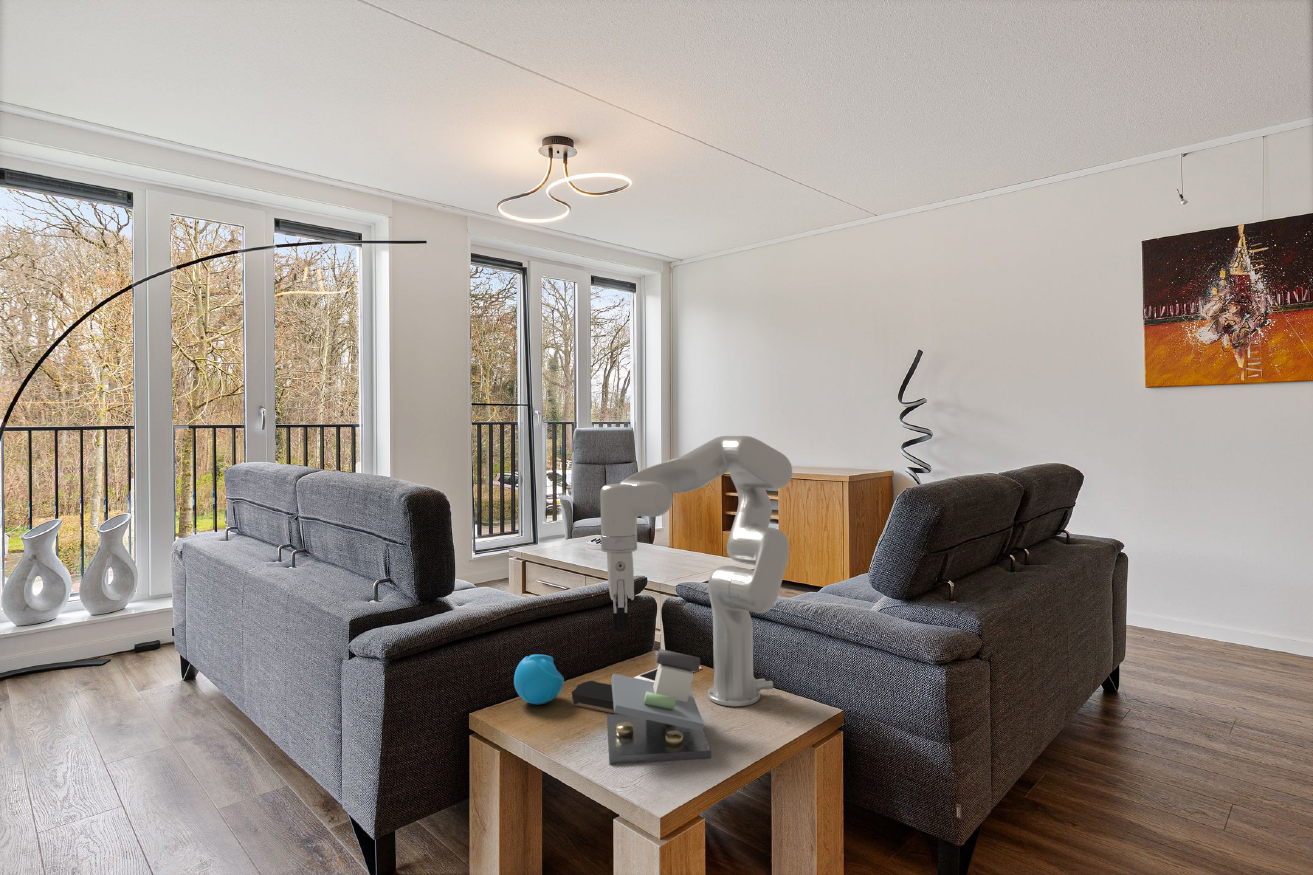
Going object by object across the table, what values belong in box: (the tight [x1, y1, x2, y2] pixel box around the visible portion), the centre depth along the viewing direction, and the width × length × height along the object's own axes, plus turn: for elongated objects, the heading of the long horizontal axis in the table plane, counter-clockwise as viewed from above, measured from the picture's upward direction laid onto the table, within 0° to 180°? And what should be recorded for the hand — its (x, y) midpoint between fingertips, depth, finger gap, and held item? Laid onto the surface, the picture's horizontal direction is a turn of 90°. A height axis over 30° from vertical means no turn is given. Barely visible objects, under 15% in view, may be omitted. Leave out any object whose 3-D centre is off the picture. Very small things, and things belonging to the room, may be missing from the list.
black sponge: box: [571, 680, 618, 714], centre depth 162 cm, size 16×8×4 cm, turn 61°
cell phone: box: [633, 666, 702, 682], centre depth 182 cm, size 9×18×1 cm, turn 137°
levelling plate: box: [611, 648, 705, 731], centre depth 143 cm, size 18×18×12 cm
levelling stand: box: [606, 713, 712, 765], centre depth 143 cm, size 20×20×5 cm
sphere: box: [513, 654, 565, 705], centre depth 164 cm, size 12×11×12 cm
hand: (620, 630), depth 143 cm, fingers closed
